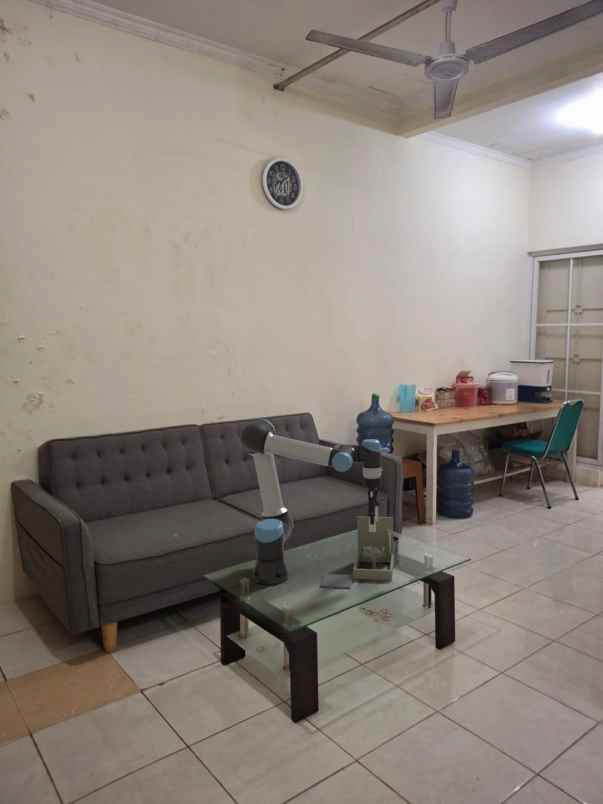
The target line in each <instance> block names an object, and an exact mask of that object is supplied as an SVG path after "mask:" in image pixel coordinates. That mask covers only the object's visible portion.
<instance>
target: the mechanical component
mask: <svg viewBox="0 0 603 804" xmlns="http://www.w3.org/2000/svg"><path fill="white" fill-rule="evenodd" d="M367 550H369V551H370V552H367ZM362 551H363V552H364V556H365V557H371V560H372V562H371V563H372V565H371V567H372V569H374V570H377V562H376V561H377V557H383V556H384V551H385V552H386V548H385V549H384V548H383V549H382V551H381V550H378V549H377V547H376V546H364V547H362ZM378 553H383V554H378Z"/></svg>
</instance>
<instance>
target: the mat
mask: <svg viewBox="0 0 603 804" xmlns="http://www.w3.org/2000/svg"><path fill="white" fill-rule="evenodd" d="M353 580H354V579H353V574H342V573H341V574H339V573H338V574H335V573H324V575H323V577H322V580H321V583H320V585H319V587H320V588H329V589H346V588H350V587H352V584H353V582H354V581H353ZM341 587H343V588H341ZM350 589H351V588H350Z"/></svg>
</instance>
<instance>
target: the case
mask: <svg viewBox="0 0 603 804" xmlns="http://www.w3.org/2000/svg"><path fill="white" fill-rule="evenodd" d="M356 524H357V527H356V531H357V555H356V557H355V558H356V559H355V561H354V565H353V569H352V570H353V571H352V573H353V574H352V575H353V580H373V581H393V576H394V574H393V572H394V565H395V564H394V563H395V555H394V554H395V552H394V551H395V550H394V549H395V545H394V544H395V543H394V540H395V539H394V516H378V522H377V521H376V532H369V517H367V515H366V516H363V515H362V516H361V515H359V516H358V515H357V516H356ZM364 546H376V547H377V549H378V550H381V551H382V549H383V548H384V549H385V548H386V552H385V551H384V556H383V557H377V561H376V563H389V565H390V566H389V569H376V570H374V569H373V568H372V569H371V568H370V569H368V568H359V567H360V563H361V562H362V563H363V562H366V563H367V562H368V563H372V560H371V557H365V556H364V552H363V551H362V547H364ZM367 552H370V551H369V550H367ZM378 554H383V553H378Z"/></svg>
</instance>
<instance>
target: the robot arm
mask: <svg viewBox="0 0 603 804" xmlns="http://www.w3.org/2000/svg"><path fill="white" fill-rule="evenodd" d="M239 442H240V445H241V447H243V449H245V450H246V451H248V454H249V455H250V456H252V457H253V461H254V467H255V470H256V475H257V481H258V486H259V487H258V488H259V491H260V496H261V501H262V506H263V511H262V513H261V514H260V515H261V519H262V520H260V521H259V522H257V523H256V525H255V527H254V539H255V540H254V541H255V542H254V543H255V564H254V567H253V571H252V579H253V578H254V579H255V581H257V582H258V583H257V584H259V583H261V584H260V585H266V586H267V585H268V586H271V585H272V586H273V585H280V584H282V583H284V582H286V581H288V580H289V578H290V572H289V571H290V570H289V567H288V566H287V562H286V561H285V548H284V547H285V546H284V544H285V542H286V541H287V540H288V538H289V537H290V536H291V535H292V533H293V529H294V521H293V518H292V516H290V514H289V511H288V508H287V507H285V506H284V503H283V498H282V491H281V487H280V482H279V476H278V471H277V467H276V462H275V456H274V455H277V456H281V457H286V458H290V459H295V460H299V461H302V462H303V461H304V462H307V463H308V462H309V463H312V464H315V465H316V464H317V465H321V466H326V467H331V468H334V470H336V471H337V472H339V473H342V472H343V473H344V472H346V471H348V470H350V468H351V467H352V465H353V464H362V476H363V477H362V478H363V486H364V487H365V488H368V490H367V500H368V514H366V516H367V517H369V532H376V521H377V522H378V517H379V506H380V503H379V499H378V494H379V490H378V488H381V486H382V485H383V481H382V472H383V468H382V450H381V441H379V440H378V439H375V438H374V439H373V438H372V439H371V438H369V439H364V440H362V442H361V444H337V445H336V444H335V445H334V446H333V447H329V446H325V445H321V444H316V443H313V442H312V443H311V442H307V441H302V440H299V439H293V438H289V437H284V436H281V435H276V429H275V426H274V425H273V424H272V422H270V421H269V420H267V419H263V418H262V419H261V418H260V419H256V420H253V421H252V422H250V423H247V424H246V425H244V426H243V427H242V428H241V430H240V432H239ZM255 581H254V582H255Z"/></svg>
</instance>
